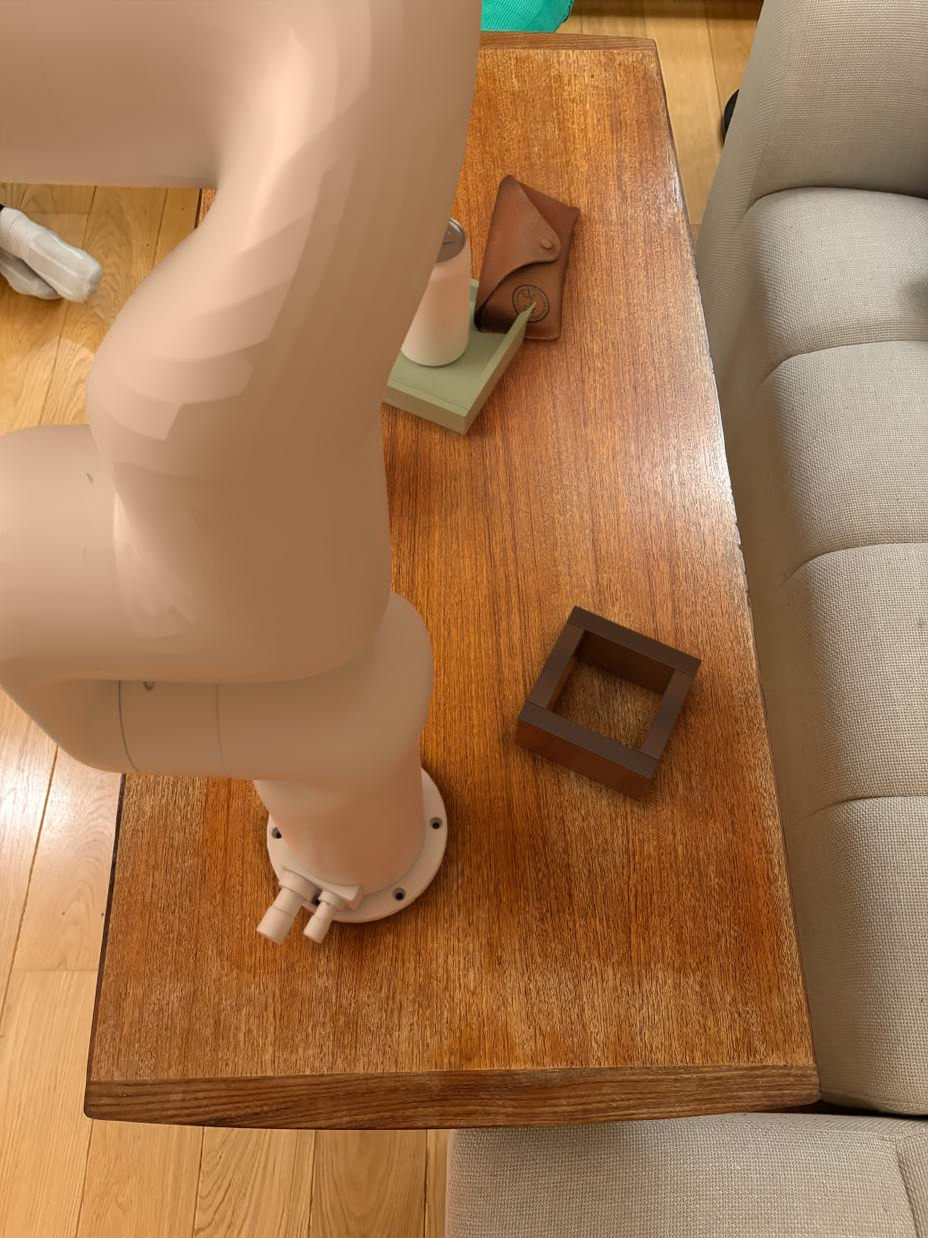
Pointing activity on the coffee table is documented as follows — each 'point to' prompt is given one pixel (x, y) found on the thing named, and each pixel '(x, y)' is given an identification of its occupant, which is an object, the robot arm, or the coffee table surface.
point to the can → (443, 305)
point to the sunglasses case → (525, 262)
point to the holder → (625, 659)
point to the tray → (456, 376)
